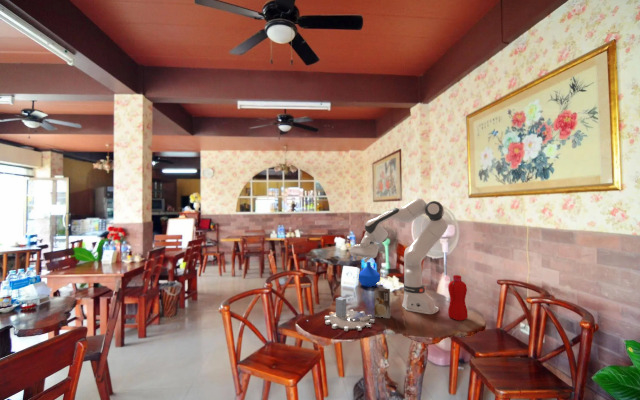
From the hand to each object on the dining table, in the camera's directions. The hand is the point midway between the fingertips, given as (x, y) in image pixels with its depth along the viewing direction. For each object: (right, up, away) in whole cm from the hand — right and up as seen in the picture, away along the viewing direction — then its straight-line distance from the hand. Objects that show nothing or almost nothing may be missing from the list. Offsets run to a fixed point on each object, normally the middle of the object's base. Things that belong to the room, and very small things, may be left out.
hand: (359, 261), depth 205 cm
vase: (+14, -29, +45) cm, 56 cm away
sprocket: (-10, -29, -28) cm, 41 cm away
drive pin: (-14, -28, -24) cm, 39 cm away
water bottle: (+54, -29, -26) cm, 67 cm away
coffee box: (+11, -29, -21) cm, 38 cm away
